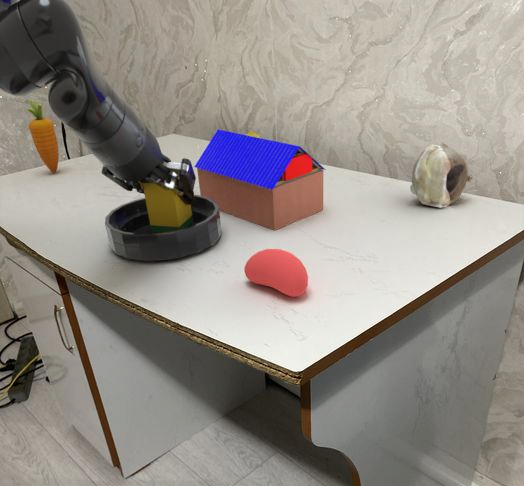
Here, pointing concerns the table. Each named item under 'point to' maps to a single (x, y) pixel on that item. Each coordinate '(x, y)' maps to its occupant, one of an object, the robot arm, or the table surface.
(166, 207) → the sponge
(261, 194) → the house
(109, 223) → the bowl
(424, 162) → the sea shell
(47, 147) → the carrot
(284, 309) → the table surface
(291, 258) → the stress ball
